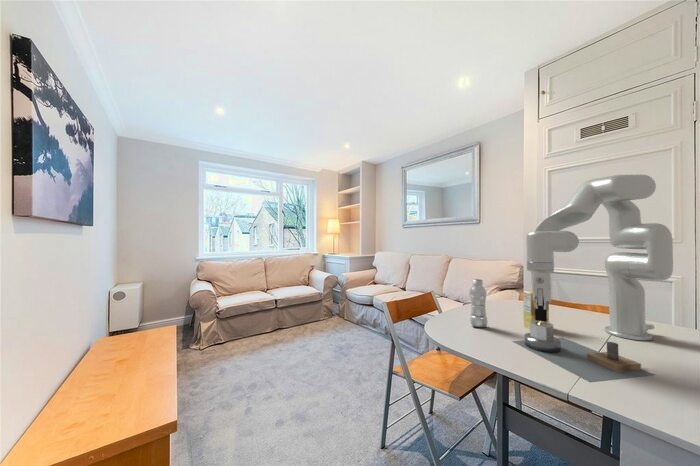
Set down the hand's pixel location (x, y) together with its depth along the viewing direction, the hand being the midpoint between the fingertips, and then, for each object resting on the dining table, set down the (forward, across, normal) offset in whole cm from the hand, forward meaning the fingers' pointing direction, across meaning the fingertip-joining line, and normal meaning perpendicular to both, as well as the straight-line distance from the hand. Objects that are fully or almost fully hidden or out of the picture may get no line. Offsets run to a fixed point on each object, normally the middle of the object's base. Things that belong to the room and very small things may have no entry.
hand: (541, 320), depth 90 cm
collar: (+6, 0, 0) cm, 6 cm away
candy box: (+10, +22, +2) cm, 24 cm away
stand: (+9, -3, -17) cm, 20 cm away
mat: (+10, -2, -8) cm, 13 cm away
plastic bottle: (+10, +11, +22) cm, 26 cm away
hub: (+9, 0, 0) cm, 9 cm away
